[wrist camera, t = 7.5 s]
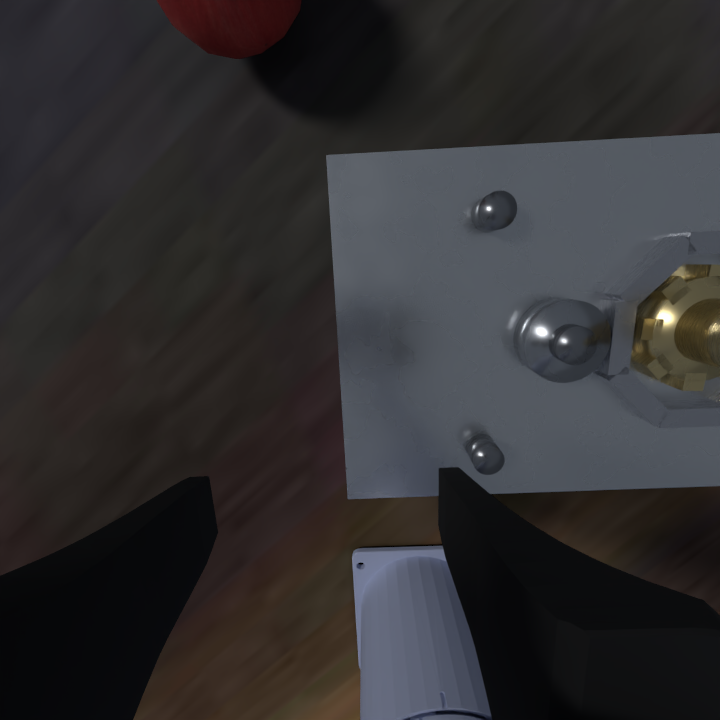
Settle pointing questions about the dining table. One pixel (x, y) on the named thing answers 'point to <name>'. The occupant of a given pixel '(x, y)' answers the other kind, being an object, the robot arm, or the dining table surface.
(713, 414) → the carrier plate
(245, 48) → the onion
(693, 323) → the gear
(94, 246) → the dining table surface
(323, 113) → the dining table surface
